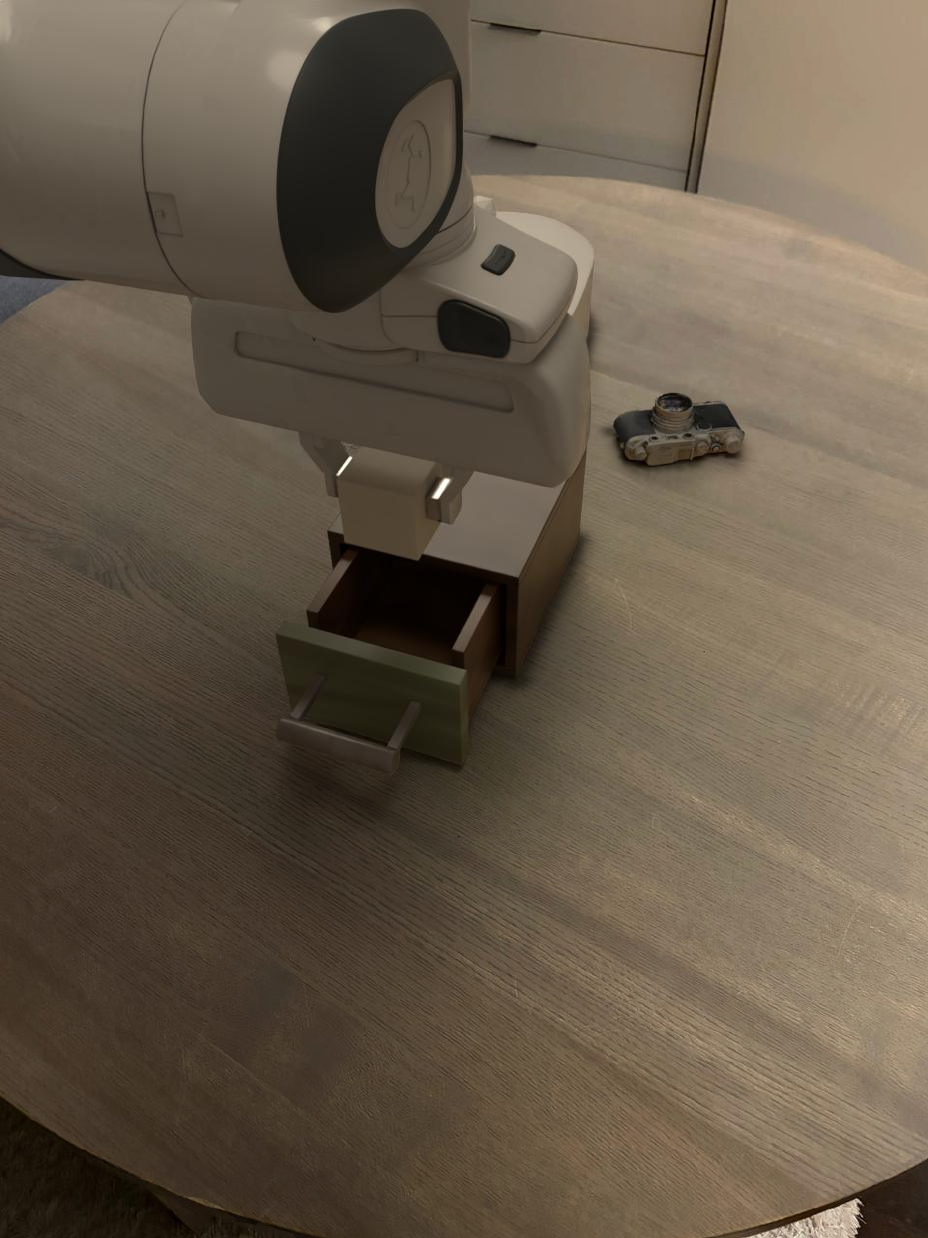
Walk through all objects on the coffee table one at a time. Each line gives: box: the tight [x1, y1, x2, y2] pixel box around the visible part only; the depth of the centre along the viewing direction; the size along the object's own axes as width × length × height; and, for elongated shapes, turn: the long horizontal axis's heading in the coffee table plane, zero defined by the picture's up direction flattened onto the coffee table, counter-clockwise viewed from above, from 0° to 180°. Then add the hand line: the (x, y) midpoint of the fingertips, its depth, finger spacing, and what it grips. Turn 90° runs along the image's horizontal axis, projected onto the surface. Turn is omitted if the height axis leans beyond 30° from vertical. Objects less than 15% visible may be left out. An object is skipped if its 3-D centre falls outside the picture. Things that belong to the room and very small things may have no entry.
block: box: [336, 446, 447, 560], centre depth 56 cm, size 4×4×4 cm
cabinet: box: [326, 445, 588, 680], centre depth 71 cm, size 15×13×9 cm
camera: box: [612, 391, 746, 467], centre depth 84 cm, size 5×10×4 cm, turn 98°
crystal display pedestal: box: [473, 195, 595, 341], centre depth 91 cm, size 25×25×16 cm
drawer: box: [274, 546, 507, 776], centre depth 64 cm, size 18×11×7 cm, turn 159°
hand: (395, 503), depth 57 cm, fingers closed on block, 4 cm apart
